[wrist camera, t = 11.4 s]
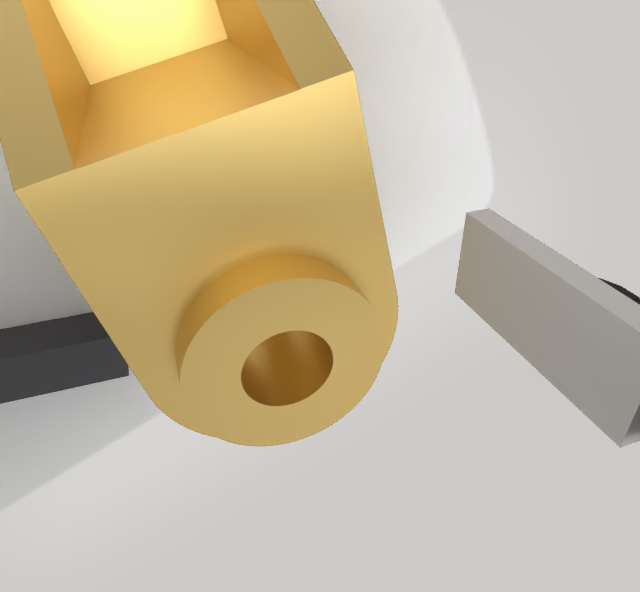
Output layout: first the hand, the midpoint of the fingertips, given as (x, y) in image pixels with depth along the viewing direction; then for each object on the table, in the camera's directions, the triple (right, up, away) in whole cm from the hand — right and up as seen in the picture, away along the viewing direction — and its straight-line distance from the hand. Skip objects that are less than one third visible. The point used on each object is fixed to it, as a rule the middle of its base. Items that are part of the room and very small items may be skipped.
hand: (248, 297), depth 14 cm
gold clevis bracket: (-5, +10, +13) cm, 17 cm away
